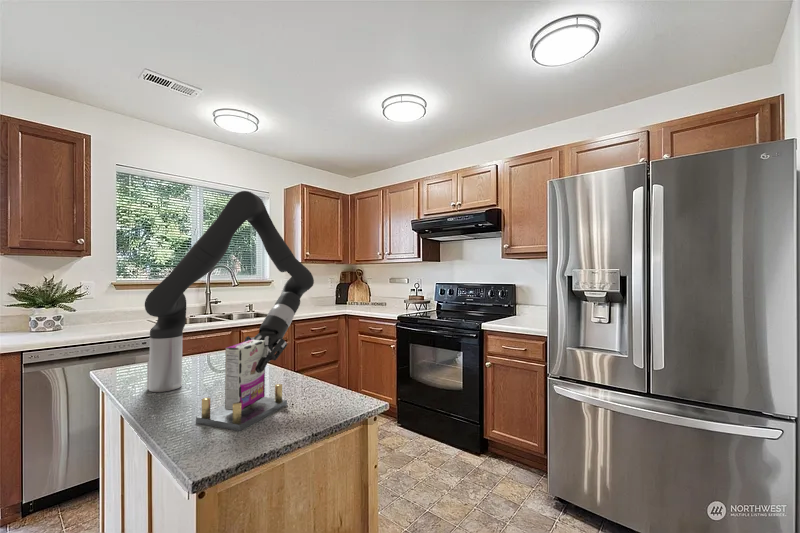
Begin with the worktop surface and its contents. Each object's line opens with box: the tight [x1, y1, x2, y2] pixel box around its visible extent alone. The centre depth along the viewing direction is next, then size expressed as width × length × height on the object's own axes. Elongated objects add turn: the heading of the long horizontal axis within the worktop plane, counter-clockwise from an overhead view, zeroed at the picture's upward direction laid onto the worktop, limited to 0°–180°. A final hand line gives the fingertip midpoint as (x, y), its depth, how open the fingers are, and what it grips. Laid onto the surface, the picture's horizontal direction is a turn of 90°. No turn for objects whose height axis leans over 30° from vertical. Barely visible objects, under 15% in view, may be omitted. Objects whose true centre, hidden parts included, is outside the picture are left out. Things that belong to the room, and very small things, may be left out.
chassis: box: [195, 383, 288, 432], centre depth 99 cm, size 14×18×6 cm
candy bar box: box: [224, 340, 266, 410], centre depth 99 cm, size 11×5×16 cm, turn 167°
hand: (249, 370), depth 101 cm, fingers closed on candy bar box, 5 cm apart
